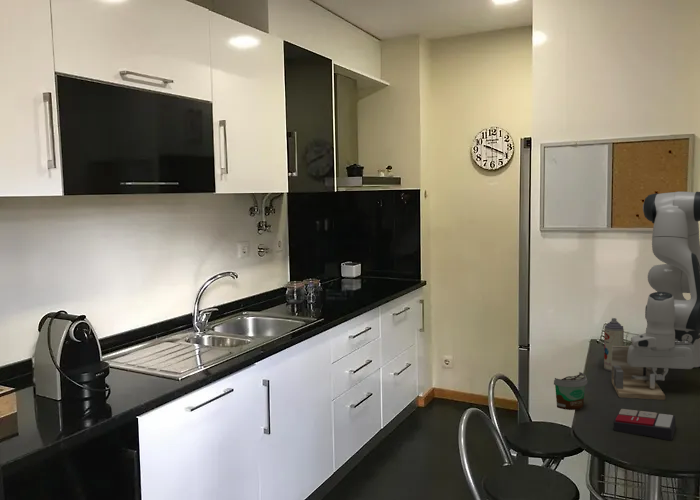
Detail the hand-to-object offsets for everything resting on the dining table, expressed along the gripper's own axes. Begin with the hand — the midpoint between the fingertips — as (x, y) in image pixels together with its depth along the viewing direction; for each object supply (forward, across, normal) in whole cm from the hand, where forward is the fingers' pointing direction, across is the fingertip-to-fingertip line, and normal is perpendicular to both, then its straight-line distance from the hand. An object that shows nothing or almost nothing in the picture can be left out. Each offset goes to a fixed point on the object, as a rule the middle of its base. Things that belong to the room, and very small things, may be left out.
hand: (659, 380), depth 202 cm
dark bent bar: (+2, +3, -5) cm, 6 cm away
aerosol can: (+4, +11, -24) cm, 27 cm away
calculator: (+5, +11, +34) cm, 36 cm away
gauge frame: (+4, +7, 0) cm, 8 cm away
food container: (+4, +29, +20) cm, 35 cm away
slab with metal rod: (+2, +5, -1) cm, 6 cm away
